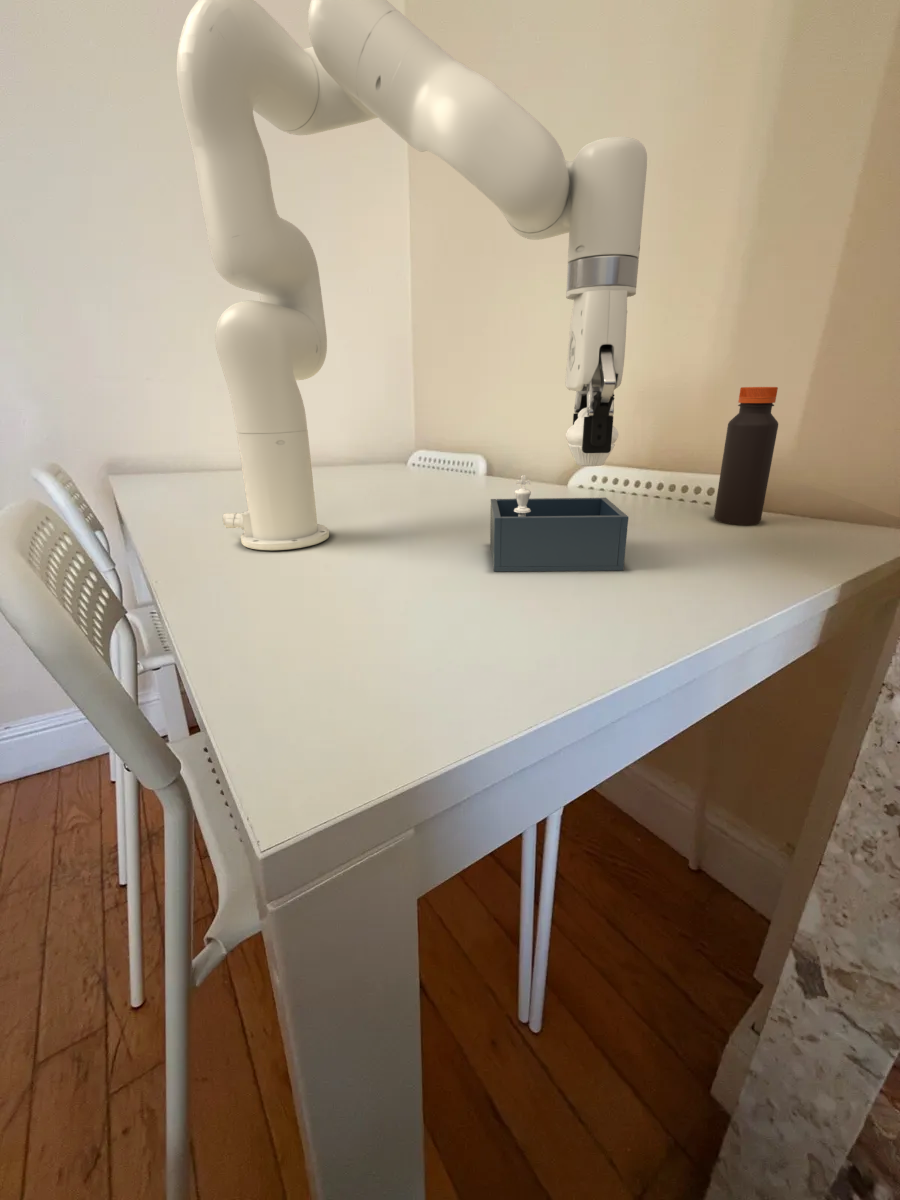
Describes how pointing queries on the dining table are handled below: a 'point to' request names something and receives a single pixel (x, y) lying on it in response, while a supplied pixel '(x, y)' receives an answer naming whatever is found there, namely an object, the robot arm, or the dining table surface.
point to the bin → (558, 535)
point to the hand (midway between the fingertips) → (590, 447)
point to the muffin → (576, 439)
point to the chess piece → (522, 497)
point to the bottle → (747, 458)
